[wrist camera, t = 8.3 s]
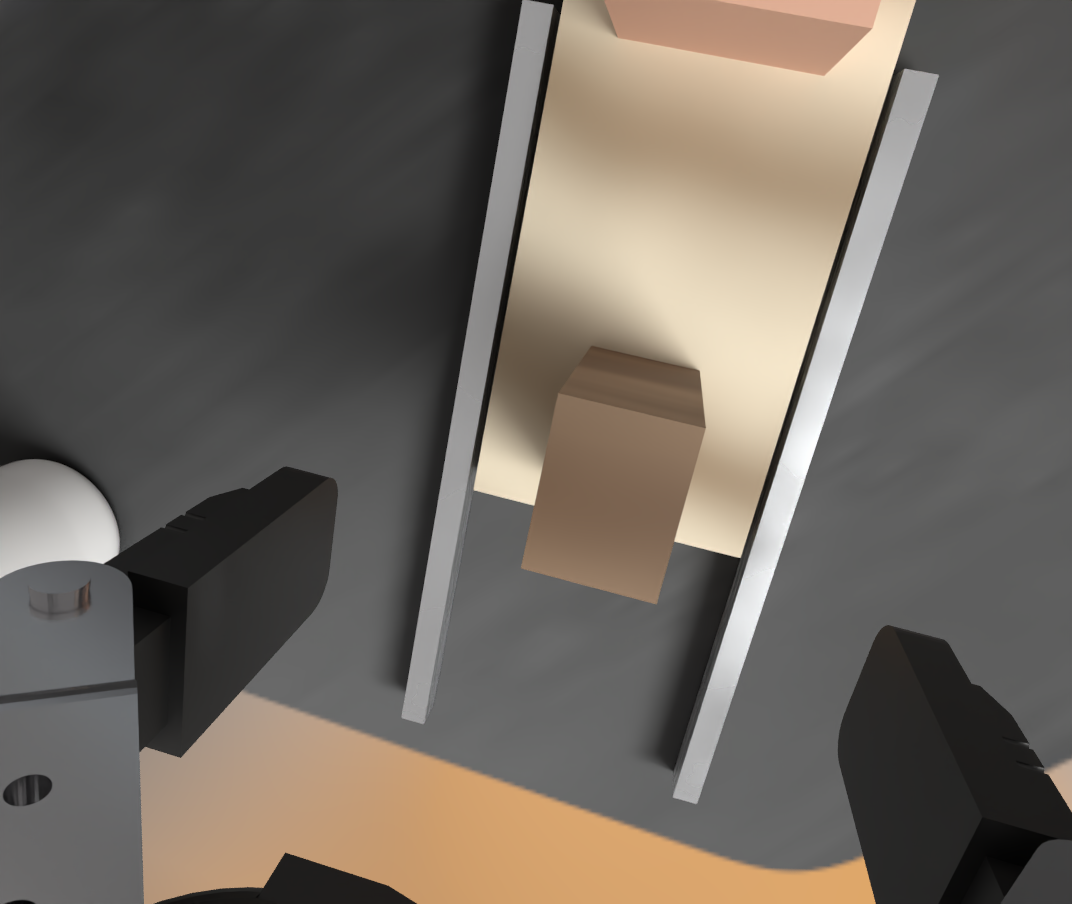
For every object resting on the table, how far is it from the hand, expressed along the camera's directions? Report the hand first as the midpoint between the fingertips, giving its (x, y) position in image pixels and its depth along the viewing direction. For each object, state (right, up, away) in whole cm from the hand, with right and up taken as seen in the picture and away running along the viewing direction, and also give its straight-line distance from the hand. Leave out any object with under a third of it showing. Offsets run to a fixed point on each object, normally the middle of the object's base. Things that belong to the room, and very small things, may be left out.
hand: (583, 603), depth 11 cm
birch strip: (+4, +11, +9) cm, 15 cm away
